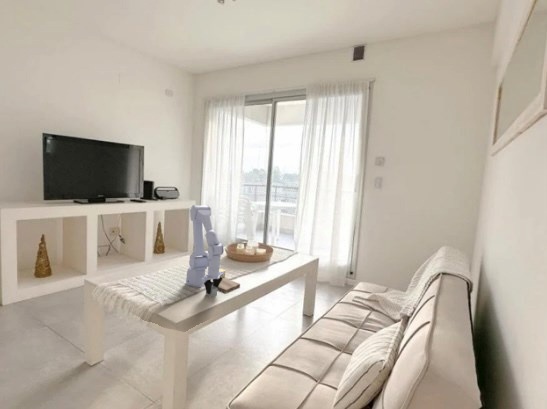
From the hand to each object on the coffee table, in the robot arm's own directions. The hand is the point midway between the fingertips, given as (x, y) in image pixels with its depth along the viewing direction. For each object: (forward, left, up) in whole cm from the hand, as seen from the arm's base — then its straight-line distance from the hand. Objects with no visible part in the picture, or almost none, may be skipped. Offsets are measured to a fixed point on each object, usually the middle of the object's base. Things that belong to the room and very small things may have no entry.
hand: (211, 292), depth 158 cm
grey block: (0, 0, -2) cm, 2 cm away
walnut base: (+3, +13, -1) cm, 13 cm away
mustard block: (-4, +25, -2) cm, 25 cm away
